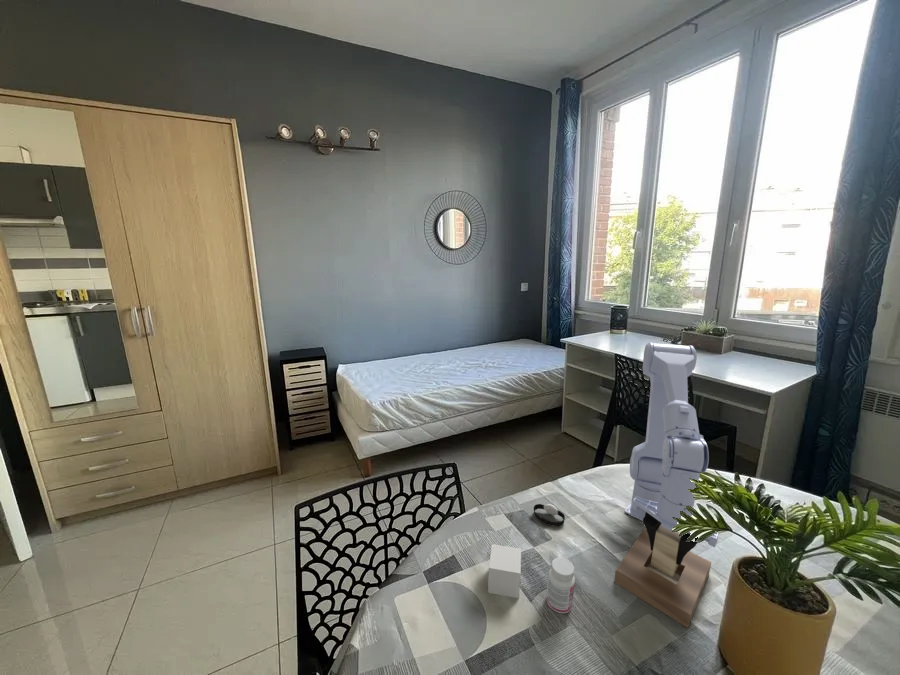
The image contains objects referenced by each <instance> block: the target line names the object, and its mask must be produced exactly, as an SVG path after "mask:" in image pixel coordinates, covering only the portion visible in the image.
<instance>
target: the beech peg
mask: <svg viewBox="0 0 900 675" xmlns="http://www.w3.org/2000/svg"><path fill="white" fill-rule="evenodd" d="M680 538H681V537H679V532H672V531H670V530H668V529H666V528H664V527H662V526H661V525H660V526H659V528H658V529H657V531H656V535H655V541H654V547H653V553H652V559H651V565H652V566H654V567H655V568H657V569H659V570H661V571H663V572H664V573H666V574H668V575H670V576H672V577H673V575H674V573H675V571H676V569H677V567H678V564H676V560H677V556H678V553H679V546H680Z"/></svg>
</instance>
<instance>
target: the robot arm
mask: <svg viewBox="0 0 900 675" xmlns="http://www.w3.org/2000/svg"><path fill="white" fill-rule="evenodd" d="M642 359H643V361H642V374H643V375H645V376H646V377H649V380H650V391H649V401H648V412H647V420H646V421H647V423H646V432H645V433H646V434H645V441H643V442H642V443H640V444H638V445H635V446H634V447H632V451H631V456H630V459H629V476H630V477H631V479H632V480H634V482H633V489H632V496H631V501H630V503H629V504H628V506H626V508H625V509H624V513H625V514H628V515H629V516H631V517H633V518H635V519H638V520H639V521H642V524H643V526H644V527H645V528H644V529H646V530H647V533H648V536H649V540H650V547H651V551H653V547H654V541H655V535H656V531H657V529H658V528H659V526H660V525H661V526H662V527H664V528H666V529H668V530H670V531H673V530H672V528H673V527H674V526H675V525H677V521H676V520H674V519H673V518H672V517H675V518H681V515H680V511H683V512H685V513H686V514H687V515H689V516H692V517H693V513H692V514H691V513H690V512H689V511H688V510H687V509H686V505H687V506H691V507H692V508H693V509H694V507H695V500H696V496H695V495H693V494H692V493H691V492H689V491H688V489H694V488H695V484H694V483H693V482H691V481H690V479H689V478H691V479H695V480H697V481H698V482H699V480H700V477H701V476H700V475H701V473H705V472H706V471H707V469H708V467H709V460H710V456H709V455H710V454H709V447H708V444H707V442H706V440H705V439H704V435H702V434H700V429H699V423H698V417H697V415H698V414H697V410H696V408H695V407H694V406H693V405H691V404H690V403H689V396H688V394H689V391H688V390H689V389H688V388H689V387H688V386H689V385H688V377H691V374H693V372H694V369H695V368H696V365H697V364H696V363H697V350H696V349H695V347H694V345H690V344H689V345H681V344H668V343H667V344H666V343H658V342H656V343H655V342H652V341H649V342H647V344H645V346H644V350H643V358H642ZM694 496H695V498H693V497H694ZM690 534H691V533H690V532H688V533H687V534H685V535H683V536H681V538H680V546H679V553H678V556H677V560H676V564H678V565H681V563H682V561H683V558H684V556H685V555H686V554H687V553H688V552H689V551H690V552H691V550H693V549H694V548H695V547H696V545H697V544H698V542H693V541H690V542H685V541H686V540H687V538H688V537H689V536H690ZM719 535H720V533H719V532H717V534H714V535H712V536H710V537H709V538H707V539H705V540H704V541H705V542H706V543H708V546H711V547H713V548H716V546H717V544H718V540H719ZM697 539H698V537H697V538H695V541H696V540H697Z"/></svg>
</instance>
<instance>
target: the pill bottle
mask: <svg viewBox="0 0 900 675" xmlns="http://www.w3.org/2000/svg"><path fill="white" fill-rule="evenodd" d="M575 577H576V576H575V567H574V564H573V563H572V562H571V561H570V560H569V559H567V558H564V557H555V558H554V559H552V561H551V568H550V569H549V572H548V576H547V578H548V579H547V587H546V596H545V597H546V602H547V605H548V606H549V608H550V609H551V610H552V611H554V612H556V613H559V614H567V613H569V612H570V611H571V610H572V609H573V603H574V595H575V594H574V593H575V585H576V578H575Z"/></svg>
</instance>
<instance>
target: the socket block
mask: <svg viewBox="0 0 900 675" xmlns="http://www.w3.org/2000/svg"><path fill="white" fill-rule="evenodd" d="M652 553H653V551H651V547H650V540H649V536H648V533H647V530H646V528H643V529H642V531H641V532H640V534H639V536H638V537H637V538H636V540H635V541H634V543H633V544H632V545H631V548H629V549H628V551H627V553H626V555H625V556H624V557H623V559H621V560H622V561H620V563H619V565H618V566H617V568H616V569H615V574H614V581H613V582H614V583H615V584H617V585H619V586H620V587H621V588H623V589H624V590H626V591H628V592H629V593H631V594H633V595H634V596H635V597H637V598H639V599H641V600H642V601H644V602H645V603H647V604H649V605H650V606H652V607H653V608H655V609H656V610H659V612H661V613H663V614H665V615H666V616H668V617H669V618H670V619H673V620H674V621H675V622H678V623H679V624H681V625H682V626H683V627H685V628H687V629H688V628H689V627H690V623H691V620H692V618H693V616H694V613H695V610H696V607H697V606H698V603H699V601H700V598H701V596H702V593H703V590H704V587H705V585H706V583H707V581H708V578H709V576H710V571H711V566H712V561H710V560H708V559H706V558H704V557H701V556H699V555H698V554H696V553H693V552H692V551H691V550H690V551H689V552H688V553H687V554H686V555H685V556H684V558H683V561H682V563H681V565H678V567H677V569H676V571H675V573H674V575H673V577H672V576H670V575H668V574H666V573H664V572H663V571H661V570H659V569H657V568H655V567H654V566H652V565H651V559H652Z"/></svg>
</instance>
